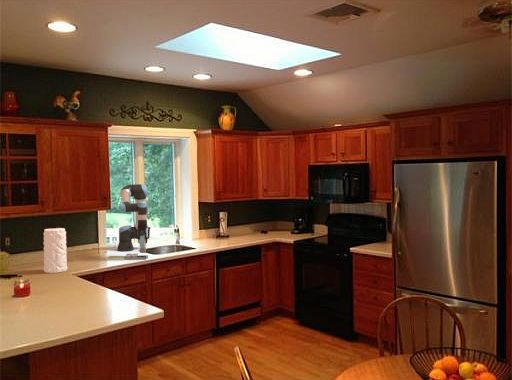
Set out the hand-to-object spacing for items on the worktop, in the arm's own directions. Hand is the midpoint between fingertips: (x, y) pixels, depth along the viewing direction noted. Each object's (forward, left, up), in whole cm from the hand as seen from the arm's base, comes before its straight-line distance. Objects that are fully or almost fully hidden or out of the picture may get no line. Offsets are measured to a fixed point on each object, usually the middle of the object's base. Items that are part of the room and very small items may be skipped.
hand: (142, 247), depth 381 cm
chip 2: (0, -7, -10) cm, 12 cm away
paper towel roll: (+40, -57, -11) cm, 70 cm away
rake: (0, 0, -5) cm, 5 cm away
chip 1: (0, -12, -10) cm, 16 cm away
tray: (0, -23, -11) cm, 25 cm away
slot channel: (0, -6, -11) cm, 13 cm away
